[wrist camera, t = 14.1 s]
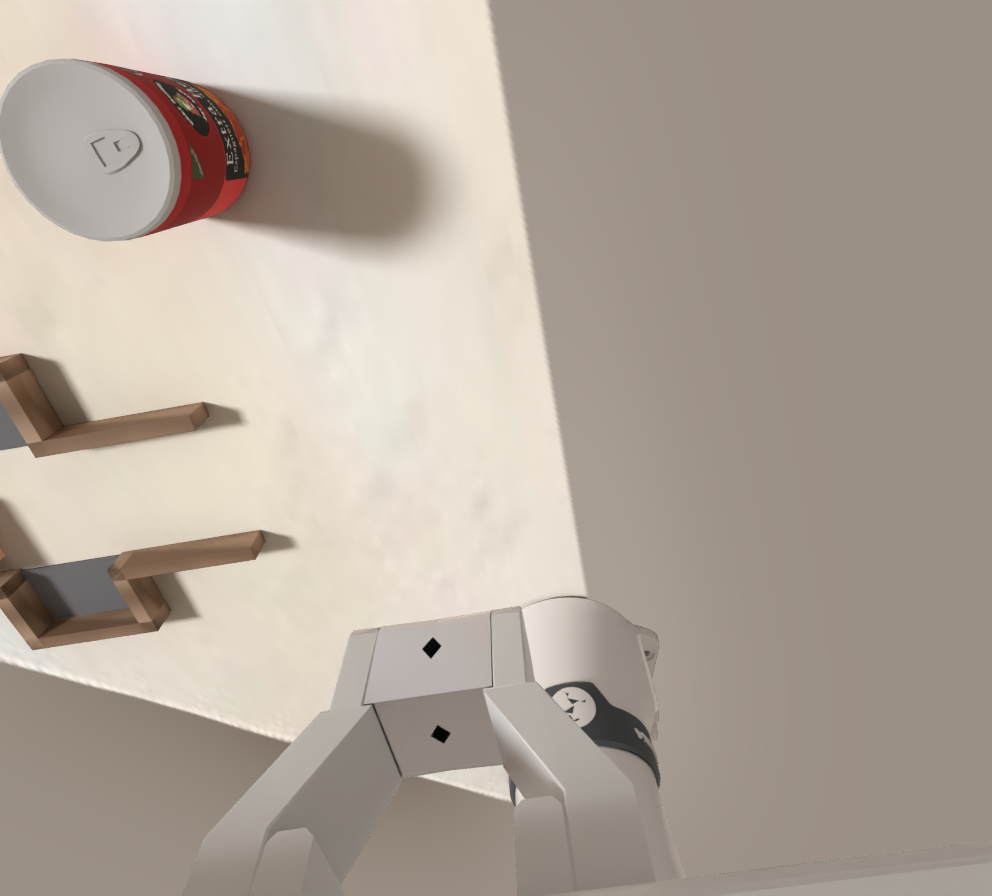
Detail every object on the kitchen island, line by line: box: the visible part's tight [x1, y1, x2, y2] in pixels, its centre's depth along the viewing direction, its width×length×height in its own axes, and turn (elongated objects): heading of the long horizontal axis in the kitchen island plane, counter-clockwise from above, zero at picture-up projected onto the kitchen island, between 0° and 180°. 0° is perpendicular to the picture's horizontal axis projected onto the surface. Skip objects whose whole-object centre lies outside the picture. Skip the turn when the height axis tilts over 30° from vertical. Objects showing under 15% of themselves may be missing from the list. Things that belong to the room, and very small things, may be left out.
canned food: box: [0, 59, 250, 241], centre depth 32 cm, size 8×8×11 cm
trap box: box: [0, 353, 265, 650], centre depth 47 cm, size 25×31×4 cm
